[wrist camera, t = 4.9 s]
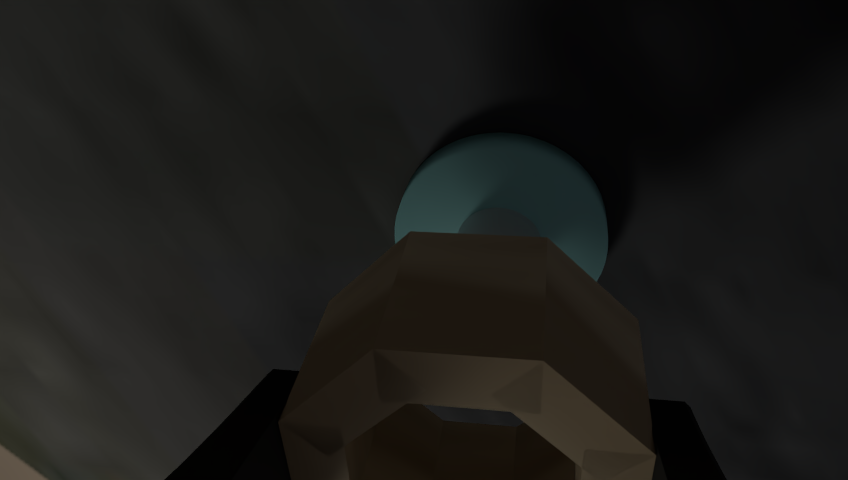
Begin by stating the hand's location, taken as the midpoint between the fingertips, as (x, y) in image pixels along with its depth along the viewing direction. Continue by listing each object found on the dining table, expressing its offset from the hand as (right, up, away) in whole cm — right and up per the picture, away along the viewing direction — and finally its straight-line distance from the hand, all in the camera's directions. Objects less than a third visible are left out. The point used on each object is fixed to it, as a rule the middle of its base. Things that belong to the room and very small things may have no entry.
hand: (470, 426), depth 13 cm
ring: (0, +1, +1) cm, 2 cm away
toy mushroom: (+1, +4, +5) cm, 6 cm away
